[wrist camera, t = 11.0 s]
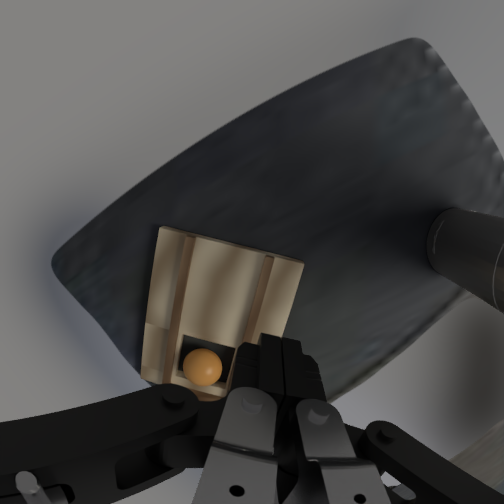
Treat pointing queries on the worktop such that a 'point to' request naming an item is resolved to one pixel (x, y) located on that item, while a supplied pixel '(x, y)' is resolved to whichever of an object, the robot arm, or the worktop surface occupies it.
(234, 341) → the beige tray
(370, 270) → the worktop surface
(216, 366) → the ball
